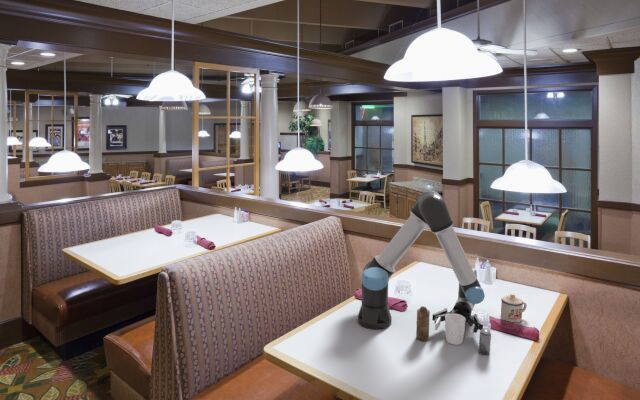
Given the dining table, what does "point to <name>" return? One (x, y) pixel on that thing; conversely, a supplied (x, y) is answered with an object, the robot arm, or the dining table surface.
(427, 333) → the pepper mill
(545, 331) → the dining table surface
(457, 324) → the white cup
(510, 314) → the teacup with lid
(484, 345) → the salt shaker
